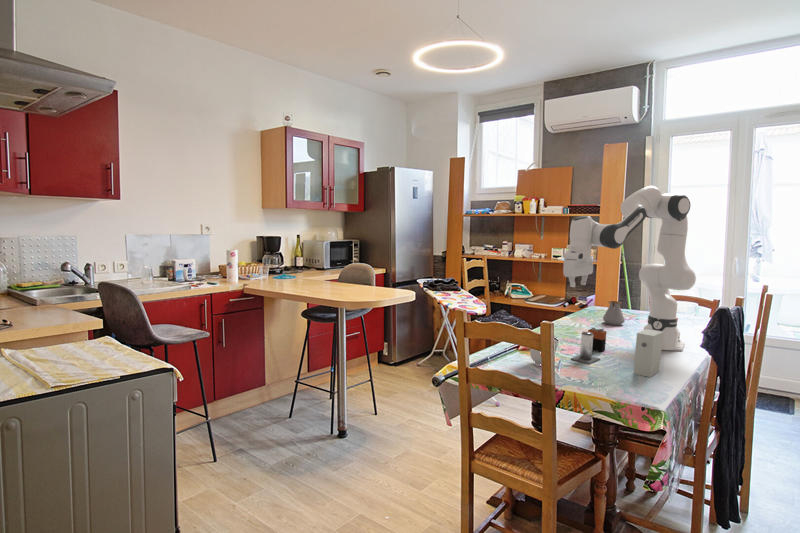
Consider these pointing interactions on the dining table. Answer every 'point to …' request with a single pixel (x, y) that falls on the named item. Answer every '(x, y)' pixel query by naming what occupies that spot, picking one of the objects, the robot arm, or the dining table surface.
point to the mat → (585, 360)
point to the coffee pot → (614, 314)
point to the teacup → (537, 356)
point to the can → (586, 345)
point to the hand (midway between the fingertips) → (578, 285)
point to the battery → (598, 339)
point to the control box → (648, 352)
